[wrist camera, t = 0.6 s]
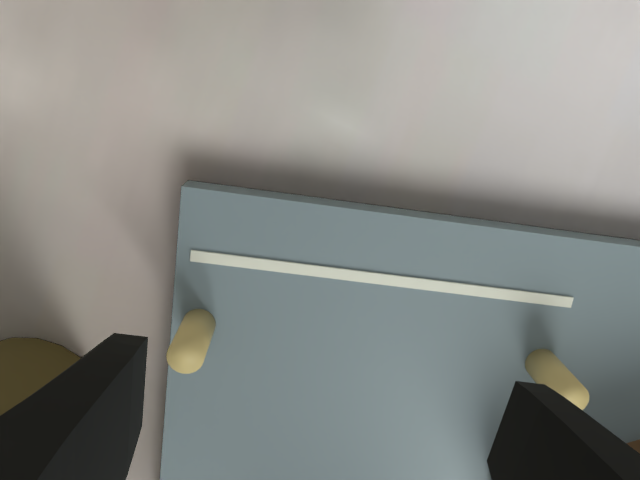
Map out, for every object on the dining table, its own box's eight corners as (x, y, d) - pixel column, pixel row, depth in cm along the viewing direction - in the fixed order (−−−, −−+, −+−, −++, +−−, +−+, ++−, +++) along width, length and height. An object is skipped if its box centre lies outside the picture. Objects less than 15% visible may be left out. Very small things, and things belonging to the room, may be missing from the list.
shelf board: (667, 544, 25) (728, 621, 21) (163, 499, 23) (139, 574, 20) (779, 259, 21) (876, 294, 18) (188, 180, 20) (163, 201, 16)
